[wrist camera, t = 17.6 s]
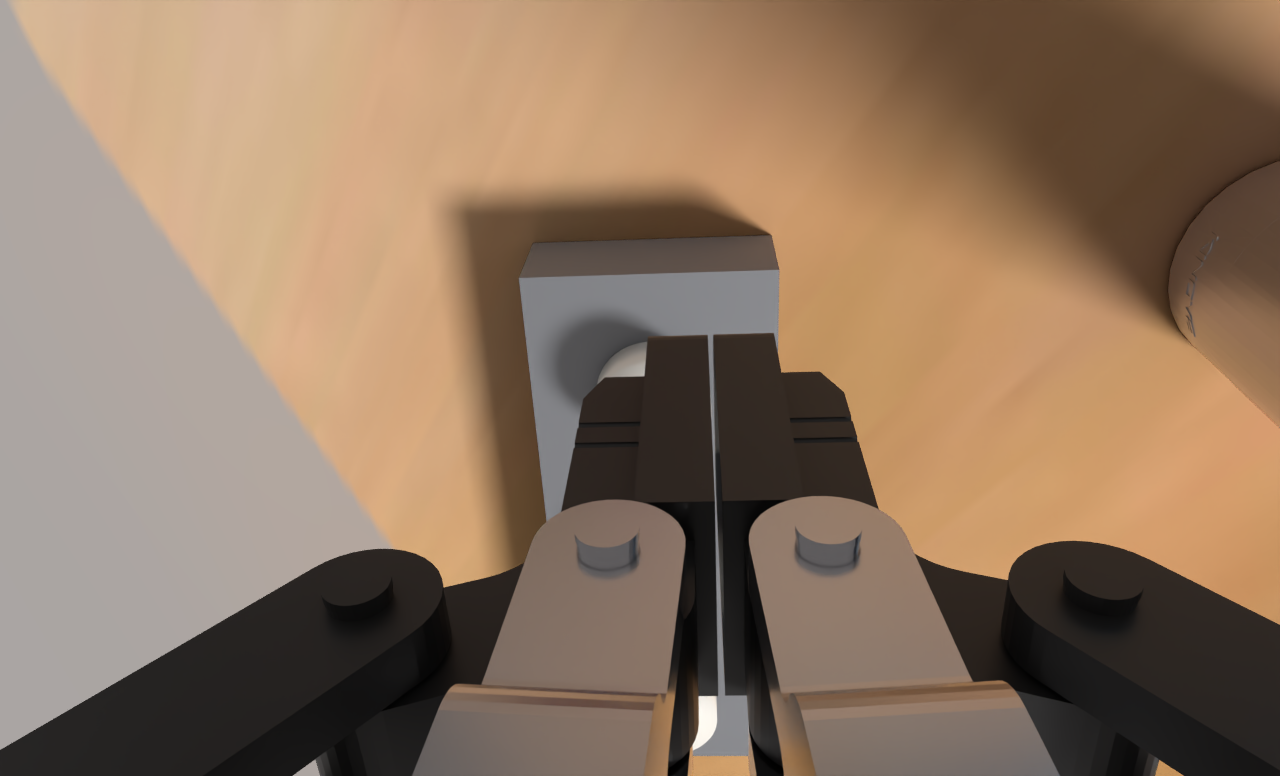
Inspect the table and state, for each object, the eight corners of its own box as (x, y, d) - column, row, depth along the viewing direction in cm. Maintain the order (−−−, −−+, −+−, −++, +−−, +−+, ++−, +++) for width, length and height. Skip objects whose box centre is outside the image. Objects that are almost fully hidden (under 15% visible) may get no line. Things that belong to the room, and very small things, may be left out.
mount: (771, 234, 41) (779, 269, 38) (765, 696, 53) (771, 755, 50) (533, 243, 42) (518, 277, 38) (581, 697, 54) (573, 755, 50)
